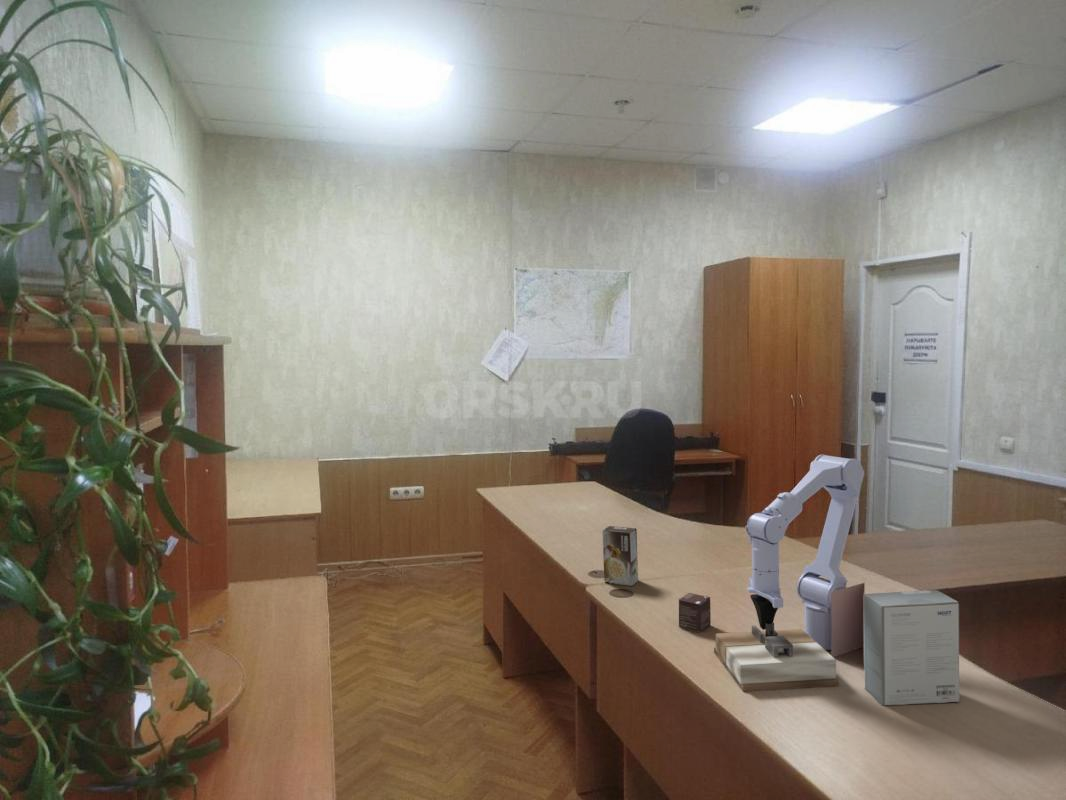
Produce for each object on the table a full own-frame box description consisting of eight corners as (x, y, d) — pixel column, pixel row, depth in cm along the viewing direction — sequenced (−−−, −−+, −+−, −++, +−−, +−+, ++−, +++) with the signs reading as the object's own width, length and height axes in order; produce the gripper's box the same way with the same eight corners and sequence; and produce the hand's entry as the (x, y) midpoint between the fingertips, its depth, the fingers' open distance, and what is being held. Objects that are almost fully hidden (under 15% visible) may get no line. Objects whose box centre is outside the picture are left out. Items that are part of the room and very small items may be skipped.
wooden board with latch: (713, 652, 165) (713, 620, 165) (798, 647, 166) (798, 615, 166) (742, 691, 146) (742, 655, 146) (838, 685, 147) (838, 650, 147)
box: (689, 620, 185) (689, 592, 184) (711, 625, 181) (711, 596, 181) (678, 627, 180) (677, 599, 180) (700, 633, 176) (700, 604, 176)
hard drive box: (937, 684, 147) (938, 589, 145) (960, 703, 139) (962, 602, 138) (862, 688, 146) (862, 592, 145) (881, 706, 139) (882, 605, 137)
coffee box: (639, 580, 218) (638, 528, 216) (631, 586, 212) (630, 533, 211) (610, 576, 222) (609, 525, 221) (603, 582, 216) (601, 530, 215)
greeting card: (860, 644, 167) (861, 581, 166) (890, 656, 160) (890, 590, 159) (827, 656, 161) (828, 590, 160) (857, 668, 155) (857, 600, 154)
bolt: (764, 640, 158) (764, 621, 158) (772, 639, 158) (772, 621, 158) (776, 653, 151) (776, 633, 151) (784, 652, 152) (784, 633, 151)
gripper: (736, 559, 166) (736, 617, 166) (760, 579, 151) (760, 642, 152) (766, 558, 166) (766, 615, 167) (792, 577, 151) (793, 640, 152)
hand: (765, 628), depth 159 cm, fingers closed
